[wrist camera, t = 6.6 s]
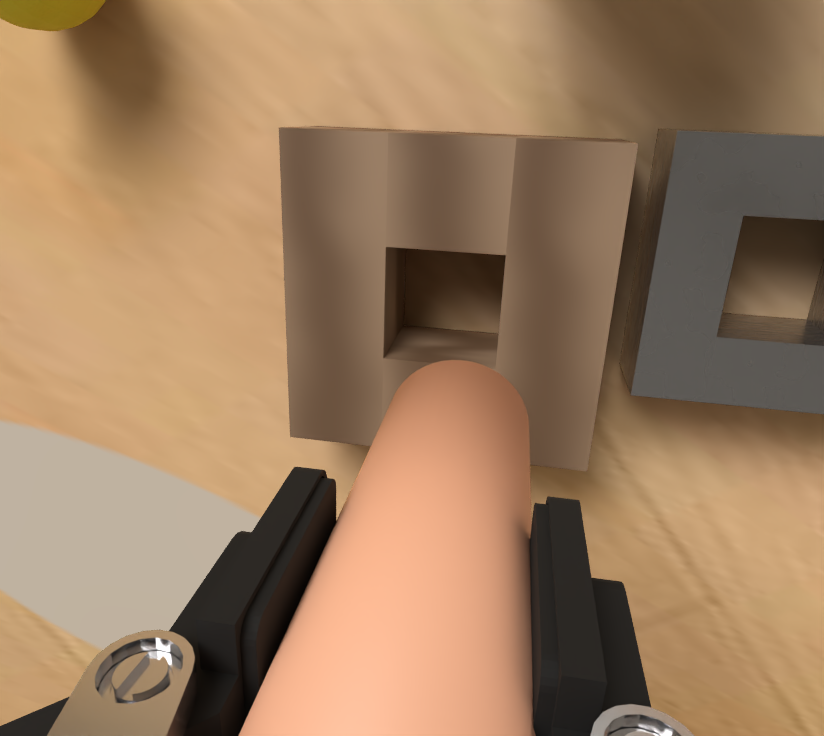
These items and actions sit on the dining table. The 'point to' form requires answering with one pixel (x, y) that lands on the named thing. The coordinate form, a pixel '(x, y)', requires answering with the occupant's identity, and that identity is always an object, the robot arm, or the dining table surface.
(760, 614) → the dining table surface
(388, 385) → the socket block
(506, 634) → the pin
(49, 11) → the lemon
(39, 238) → the dining table surface
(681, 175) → the pin mount
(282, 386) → the dining table surface
